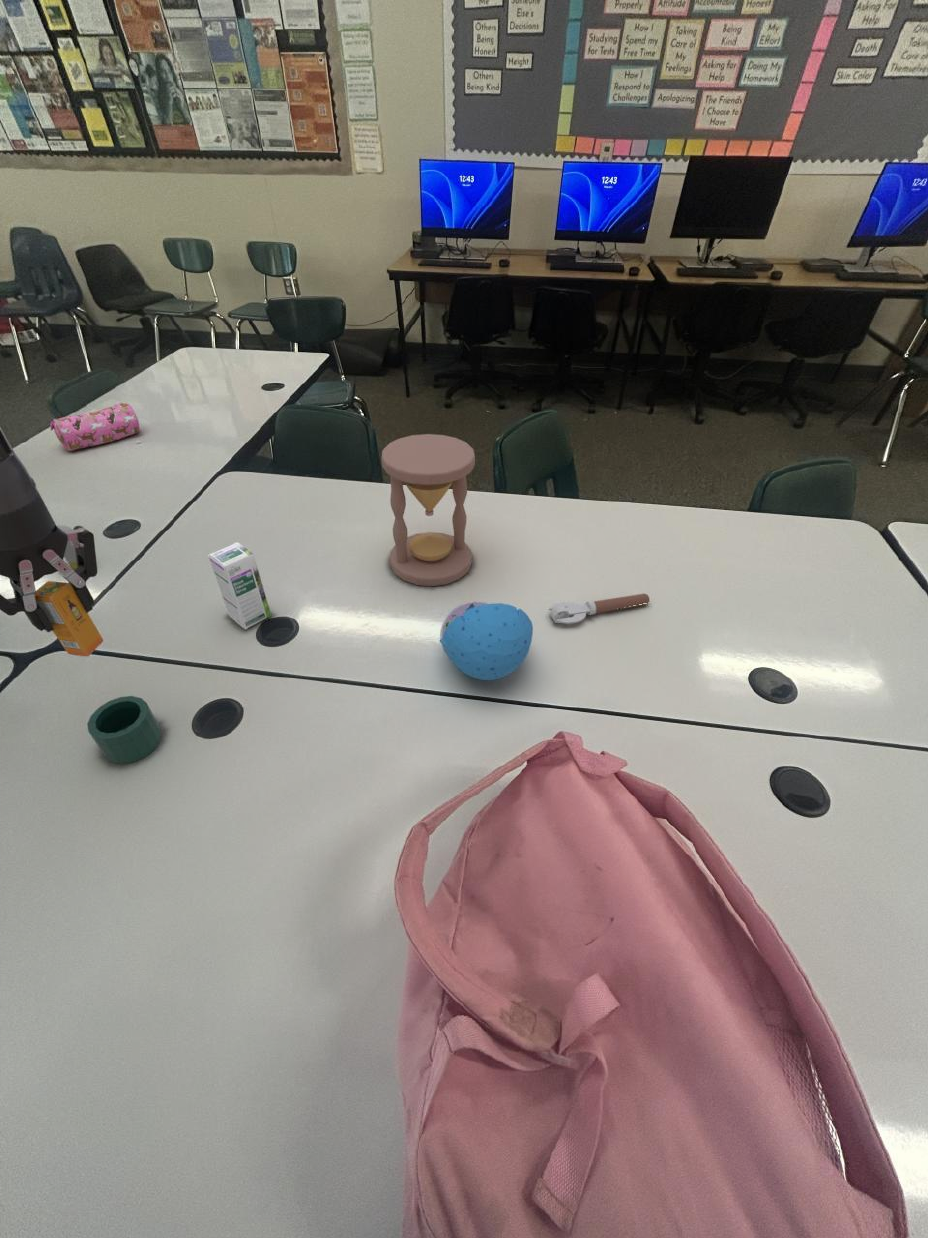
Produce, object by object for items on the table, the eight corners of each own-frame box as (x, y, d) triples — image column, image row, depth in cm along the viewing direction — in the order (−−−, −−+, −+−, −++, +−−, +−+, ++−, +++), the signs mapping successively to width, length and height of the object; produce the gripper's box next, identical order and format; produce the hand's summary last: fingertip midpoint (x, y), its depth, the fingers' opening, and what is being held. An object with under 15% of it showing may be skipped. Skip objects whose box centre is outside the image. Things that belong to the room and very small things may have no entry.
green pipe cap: (122, 773, 81) (105, 748, 77) (94, 746, 84) (76, 720, 80) (171, 738, 85) (158, 712, 81) (143, 713, 89) (129, 688, 85)
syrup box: (245, 631, 104) (224, 566, 94) (228, 616, 107) (206, 553, 97) (271, 616, 107) (254, 553, 98) (254, 602, 110) (236, 540, 101)
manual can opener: (633, 590, 115) (636, 578, 113) (650, 607, 111) (654, 595, 109) (544, 612, 109) (545, 600, 107) (559, 632, 105) (561, 620, 103)
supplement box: (82, 638, 76) (48, 578, 70) (105, 641, 76) (73, 582, 69) (64, 654, 74) (27, 594, 67) (87, 658, 73) (52, 598, 67)
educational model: (512, 621, 107) (518, 556, 97) (539, 695, 93) (549, 628, 83) (431, 630, 105) (429, 564, 95) (445, 707, 91) (445, 639, 81)
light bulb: (57, 570, 117) (34, 529, 110) (83, 558, 120) (62, 517, 114) (71, 579, 115) (48, 537, 108) (97, 566, 118) (77, 525, 112)
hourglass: (395, 591, 114) (385, 477, 97) (386, 544, 126) (376, 436, 110) (479, 581, 116) (484, 469, 100) (462, 536, 129) (464, 430, 113)
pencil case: (133, 426, 174) (122, 397, 168) (146, 435, 169) (135, 405, 163) (57, 447, 162) (43, 416, 156) (69, 457, 157) (55, 426, 151)
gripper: (48, 464, 66) (106, 580, 77) (-98, 513, 57) (-8, 637, 68) (81, 482, 63) (137, 601, 74) (-69, 538, 54) (21, 663, 65)
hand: (67, 618), depth 71 cm, fingers closed on supplement box, 4 cm apart
